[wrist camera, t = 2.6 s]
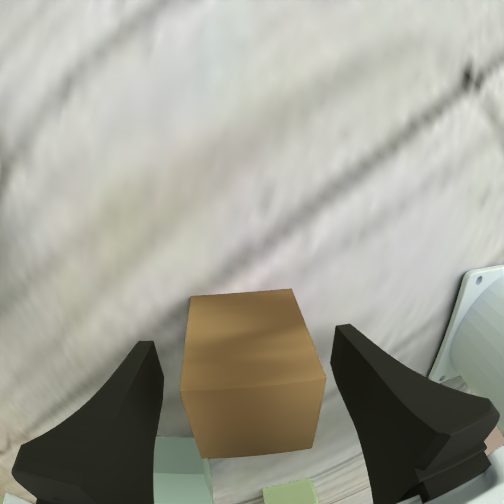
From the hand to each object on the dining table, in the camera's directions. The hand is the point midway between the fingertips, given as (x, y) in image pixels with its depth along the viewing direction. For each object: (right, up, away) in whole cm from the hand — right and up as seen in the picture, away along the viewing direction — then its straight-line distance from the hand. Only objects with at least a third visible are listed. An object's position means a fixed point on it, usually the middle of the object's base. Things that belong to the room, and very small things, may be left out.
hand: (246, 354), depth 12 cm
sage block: (+4, -17, +9) cm, 19 cm away
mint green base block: (-6, -10, +6) cm, 13 cm away
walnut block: (0, +1, +1) cm, 2 cm away
